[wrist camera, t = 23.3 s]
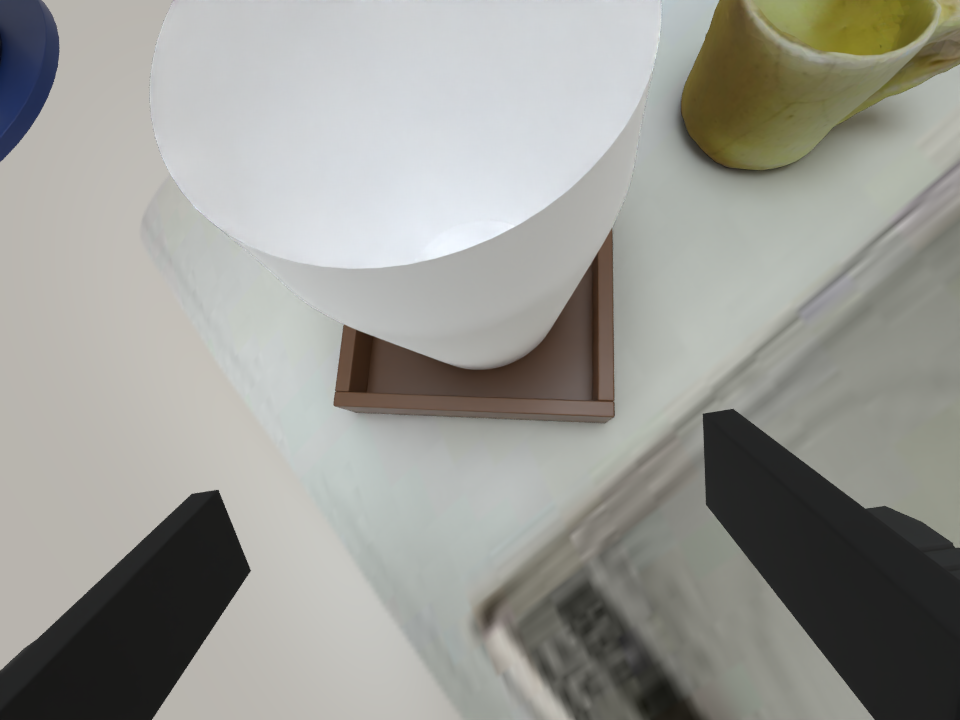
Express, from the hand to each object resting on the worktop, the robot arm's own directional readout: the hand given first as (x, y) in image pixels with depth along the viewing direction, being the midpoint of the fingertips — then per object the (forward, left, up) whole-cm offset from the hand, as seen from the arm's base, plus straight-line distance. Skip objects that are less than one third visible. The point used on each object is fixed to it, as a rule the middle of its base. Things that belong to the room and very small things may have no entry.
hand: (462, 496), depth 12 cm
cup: (-11, -2, -13) cm, 17 cm away
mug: (-23, +16, -13) cm, 31 cm away
